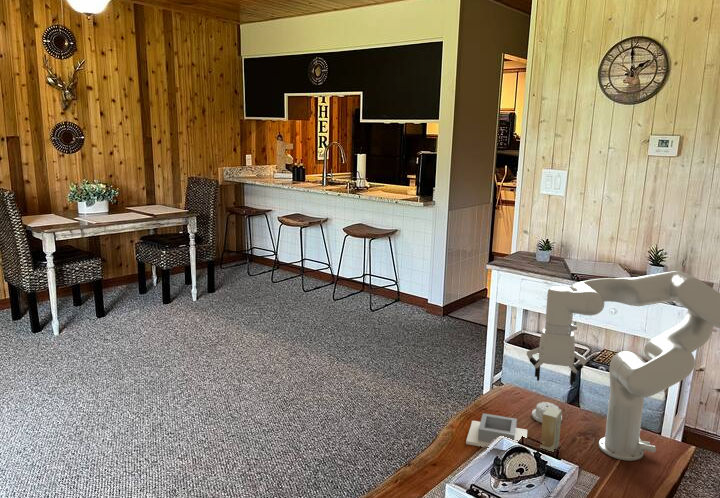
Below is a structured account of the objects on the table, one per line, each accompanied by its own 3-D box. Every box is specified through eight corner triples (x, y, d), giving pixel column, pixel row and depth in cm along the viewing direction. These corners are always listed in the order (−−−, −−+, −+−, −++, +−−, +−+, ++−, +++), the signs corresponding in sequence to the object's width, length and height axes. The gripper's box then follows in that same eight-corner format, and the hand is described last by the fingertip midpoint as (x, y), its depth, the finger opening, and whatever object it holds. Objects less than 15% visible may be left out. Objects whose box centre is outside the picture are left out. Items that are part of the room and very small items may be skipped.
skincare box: (545, 440, 179) (548, 405, 176) (559, 445, 176) (562, 409, 174) (539, 449, 174) (542, 413, 171) (553, 454, 171) (556, 417, 169)
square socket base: (527, 432, 184) (528, 418, 183) (525, 454, 171) (526, 439, 170) (472, 423, 189) (472, 409, 188) (465, 443, 176) (466, 429, 175)
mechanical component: (565, 426, 188) (558, 412, 198) (566, 414, 188) (559, 400, 197) (535, 424, 189) (529, 410, 199) (536, 412, 189) (530, 399, 198)
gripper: (588, 327, 168) (584, 380, 171) (529, 321, 174) (525, 372, 177) (590, 335, 161) (585, 390, 164) (527, 328, 167) (524, 382, 170)
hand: (554, 381), depth 171 cm, fingers open, 9 cm apart
